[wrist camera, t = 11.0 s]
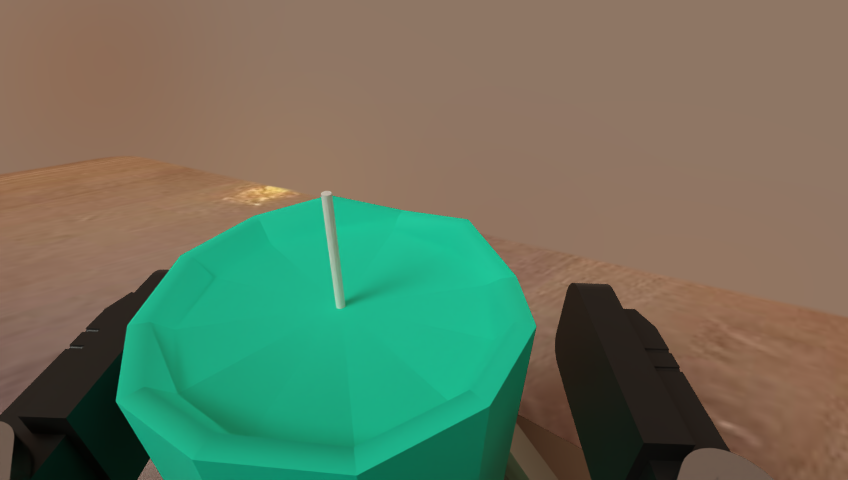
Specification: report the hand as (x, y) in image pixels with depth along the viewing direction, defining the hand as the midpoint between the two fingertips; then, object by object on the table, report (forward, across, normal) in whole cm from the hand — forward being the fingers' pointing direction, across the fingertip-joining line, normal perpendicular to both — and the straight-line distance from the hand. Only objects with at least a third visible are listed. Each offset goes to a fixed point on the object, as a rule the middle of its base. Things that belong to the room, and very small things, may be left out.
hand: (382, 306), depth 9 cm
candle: (-2, 0, +8) cm, 9 cm away
